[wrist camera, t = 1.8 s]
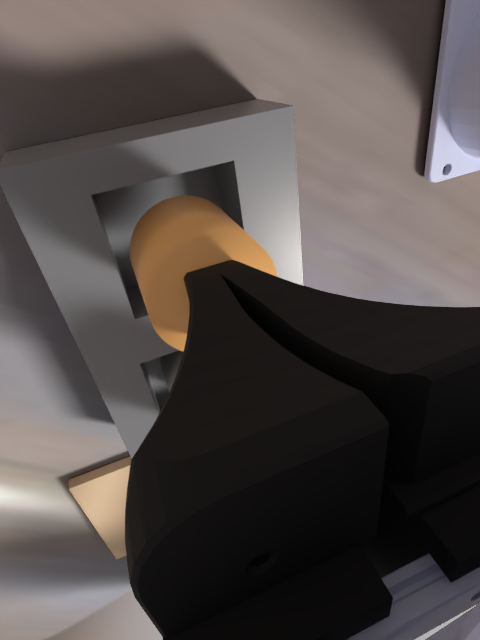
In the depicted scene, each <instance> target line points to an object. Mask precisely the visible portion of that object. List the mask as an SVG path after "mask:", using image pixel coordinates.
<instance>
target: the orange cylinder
mask: <svg viewBox="0 0 480 640" xmlns="http://www.w3.org/2000/svg"><path fill="white" fill-rule="evenodd" d="M130 260H131V264H132V267H133V270H134V273H135V276H136V279H137V282H138V285H139V288H140V291H141V294H142V297H143V300H144V303H145V306H146V309H147V312H148V315H149V318H150V321H151V323H152V326H153V328H154V329H155V331H156V332H157V334H158V335H159V336H160V337H161V339H162V340H164V341H165V342H166V343H167V344H169V345H170V346H172V347H173V348H175V349H178V350H180V351H184V347H185V343H186V338H187V332H188V323H189V311H190V310H189V298H188V294H187V290H186V286H185V282H184V279H183V278H184V276H185V275H186V273H188V272H191V271H194V270H198V269H201V268H205V267H208V266H211V265H215V264H218V263H221V262H225V261H228V260H235V261H238V262H241V263H243V264H246V265H248V266H251V267H253V268H256V269H258V270H261V271H263V272H266V273H269V274H271V275H274V276H277V271H276V268H275V265H274V263H273V261H272V259H271V257H270V256H269V255H268V253H267V252H266V251H265V250H264V249H263V248H262V247H261V246H260V245H259V244H258V243H257V242H256V241H255V240H254V239H253V238H252V237H250V236H249V235H248V234H247V233H246V232H245V231H244V230H243V229H242V228H241V227H240V226H239V225H238V224H237V223H236V222H234V221H233V220H232V219H231V218H230V217H229V216H228V215H227V214H226V213H225V212H224V211H223V210H222V209H221V208H219V207H218V206H217V205H215V204H214V203H212V202H210V201H209V200H206V199H204V198H201V197H196V196H188V195H187V196H176V197H171V198H168V199H165V200H163V201H161V202H159V203H157V204H156V205H154V206H153V207H151V208H150V209H149V210H148V211H147V212H146V213H145V214H144V215H143V216H142V217H141V218H140V220H139V221H138V223H137V224H136V226H135V228H134V230H133V233H132V236H131V241H130ZM277 277H278V276H277Z"/></svg>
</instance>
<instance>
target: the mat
mask: <svg viewBox="0 0 480 640" xmlns="http://www.w3.org/2000/svg"><path fill="white" fill-rule="evenodd" d="M131 459H132V458H131V456H129V457H127V458H124V459H121V460H119V461H116V462H114V463H111V464H108V465H106V466H103V467H101V468H98V469H95V470H93V471H90V472H88V473H85V474H82V475H80V476H77V477H75V478H72V479H69V490H70V492H71V493H72V495H73V496H74V498H75V499H76V501H77V502H78V504H79V505H80V506H81V508H82V509H83V511H84V512H85V514H86V515H87V517H88V518H89V520H90V521H91V523H92V524H93V526H94V527H95V529H96V530H97V532H98V533H99V534H100V536H101V537H102V539H103V540H104V542H105V543H106V545H107V546H108V548H109V549H110V551H111V552H112V554H113V555H114V557H115V558H116V559H119V558H121V557H124V556H126V547H125V506H126V496H127V486H128V479H129V471H130V465H131Z"/></svg>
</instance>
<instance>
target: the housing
mask: <svg viewBox="0 0 480 640" xmlns="http://www.w3.org/2000/svg"><path fill="white" fill-rule="evenodd" d="M0 186H1V188H2V191H3V193H4V195H5V197H6V199H7V201H8V203H9V205H10V207H11V209H12V211H13V213H14V215H15V218H16V220H17V222H18V224H19V226H20V228H21V230H22V232H23V234H24V236H25V238H26V240H27V242H28V244H29V247H30V249H31V251H32V253H33V255H34V257H35V259H36V261H37V263H38V265H39V267H40V269H41V271H42V274H43V276H44V278H45V280H46V282H47V284H48V286H49V288H50V290H51V292H52V294H53V296H54V298H55V301H56V303H57V305H58V307H59V309H60V311H61V313H62V315H63V317H64V319H65V321H66V323H67V325H68V327H69V330H70V332H71V334H72V336H73V338H74V340H75V342H76V344H77V346H78V348H79V350H80V352H81V354H82V357H83V359H84V361H85V363H86V365H87V367H88V369H89V371H90V373H91V375H92V377H93V379H94V381H95V384H96V386H97V388H98V390H99V392H100V394H101V396H102V398H103V400H104V402H105V404H106V406H107V408H108V410H109V413H110V415H111V417H112V419H113V421H114V423H115V425H116V427H117V429H118V431H119V433H120V435H121V437H122V440H123V442H124V444H125V446H126V448H127V450H128V452H129V454H130V456H131V458H133V456H134V455H135V453H136V452H137V450H138V448H139V447H140V445H141V443H142V442H143V440H144V439H145V437H146V435H147V434H148V432H149V431H150V429H151V427H152V426H153V424H154V422H155V421H156V419H157V417H158V415H159V413H160V411H161V409H162V407H163V405H164V402H165V400H166V398H167V396H168V394H169V390H168V387H167V384H166V381H165V378H164V375H163V371H162V368H161V356H164V355H167V354H170V353H173V352H176V351H179V350H178V349H175V348H173V347H172V346H170V345H169V344H167V343H166V342H165V341H164V340H162V339H161V337H160V336H159V335H158V334H157V332H156V331H155V329H154V328H153V326H152V323H151V321H150V318H149V315H148V312H147V309H146V306H145V303H144V300H143V297H142V294H141V291H140V288H139V285H138V282H137V279H136V276H135V273H134V270H133V267H132V264H131V260H130V241H131V236H132V233H133V230H134V228H135V226H136V224H137V223H138V221H139V220H140V218H141V217H142V216H143V215H144V214H145V213H146V212H147V211H148V210H149V209H150V208H151V207H153V206H154V205H156V204H157V203H159V202H161V201H163V200H165V199H168V198H171V197H176V196H187V195H188V196H196V197H201V198H204V199H206V200H209V201H210V202H212V203H214V204H215V205H217V206H218V207H219V208H221V209H222V210H223V211H224V212H225V213H226V214H227V215H228V216H229V217H230V218H231V219H232V220H233V221H234V222H236V223H237V224H238V225H239V226H240V227H241V228H242V229H243V230H244V231H245V232H246V233H247V234H248V235H249V236H250V237H252V238H253V239H254V240H255V241H256V242H257V243H258V244H259V245H260V246H261V247H262V248H263V249H264V250H265V251H266V252H267V253H268V255H269V256H270V257H271V259H272V261H273V263H274V265H275V268H276V271H277V276H278V277H279V278H282V279H285V280H288V281H291V282H293V283H296V284H300V285H303V272H302V254H301V236H300V217H299V199H298V181H297V163H296V145H295V127H294V109H293V106H292V105H287V104H282V103H276V102H271V101H266V100H260V99H255V100H250V101H245V102H241V103H236V104H231V105H226V106H221V107H217V108H212V109H207V110H202V111H198V112H193V113H188V114H183V115H179V116H174V117H169V118H164V119H159V120H155V121H150V122H145V123H140V124H136V125H131V126H126V127H121V128H117V129H112V130H107V131H102V132H98V133H93V134H88V135H83V136H78V137H74V138H69V139H64V140H59V141H55V142H50V143H45V144H40V145H36V146H31V147H26V148H21V149H16V150H12V151H7V152H5V154H4V155H3V157H2V158H1V160H0Z"/></svg>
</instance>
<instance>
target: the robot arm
mask: <svg viewBox="0 0 480 640" xmlns="http://www.w3.org/2000/svg"><path fill="white" fill-rule="evenodd" d="M444 167H445V170H444V171H443V168H444ZM478 170H480V0H446V3H445V11H444V19H443V27H442V35H441V43H440V51H439V59H438V67H437V75H436V84H435V92H434V100H433V108H432V116H431V124H430V132H429V140H428V148H427V156H426V164H425V172H424V176H425V179H426V180H427V181H430V182H433V183H435V182H440V181H443V180H447V179H450V178H454V177H457V176H461V175H464V174H468V173H471V172H475V171H478ZM442 171H443V172H442ZM183 279H184V282H185V286H186V290H187V294H188V298H189V310H190V311H189V323H188V332H187V338H186V343H185V347H184V351H183V355H182V359H181V362H180V365H179V368H178V371H177V374H176V377H175V380H174V383H173V385H172V388H171V390H170V392H169V394H168V396H167V398H166V400H165V402H164V405H163V407H162V409H161V411H160V413H159V415H158V417H157V419H156V421H155V422H154V424H153V426H152V427H151V429H150V431H149V432H148V434H147V435H146V437H145V439H144V440H143V442H142V443H141V445H140V447H139V448H138V450H137V452H136V453H135V455H134V456H133V458H132V459H131V465H130V471H129V479H128V486H127V496H126V506H125V547H126V555H127V563H128V570H129V578H130V584H131V587H132V590H133V593H134V596H135V598H136V599H137V601H138V602H139V604H140V605H141V607H142V608H143V609H144V611H145V612H146V614H147V615H148V616H149V618H150V619H151V621H152V622H153V624H154V625H155V626H156V628H157V629H158V631H159V632H160V633H161V635H162V636H163V640H414V639H416V638H417V637H419V636H421V635H423V634H425V633H427V632H428V631H430V630H432V629H434V628H435V627H437V626H439V625H441V624H442V623H444V622H446V621H448V620H449V619H451V618H453V617H455V616H457V615H458V614H460V613H462V612H464V611H465V610H467V609H469V608H471V607H472V606H474V605H476V604H477V605H476V607H474V608H473V609H471V610H470V611H468V612H466V613H465V614H463V615H462V616H461V617H459V618H458V619H456V620H454V621H453V622H451V623H450V624H449V625H447V626H445V627H444V628H442V629H441V630H439V631H438V632H436V633H435V634H433V635H432V636H430V637H429V638H427V639H426V640H480V307H431V306H414V305H401V304H392V303H384V302H375V301H368V300H362V299H356V298H351V297H346V296H341V295H337V294H332V293H328V292H324V291H320V290H316V289H313V288H310V287H306V286H303V285H300V284H296V283H293V282H291V281H288V280H285V279H282V278H279V277H277V276H274V275H271V274H269V273H266V272H263V271H261V270H258V269H256V268H253V267H251V266H248V265H246V264H243V263H241V262H238V261H235V260H228V261H225V262H221V263H218V264H215V265H211V266H208V267H205V268H201V269H198V270H194V271H191V272H188V273H186V275H185V276H184V278H183Z"/></svg>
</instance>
